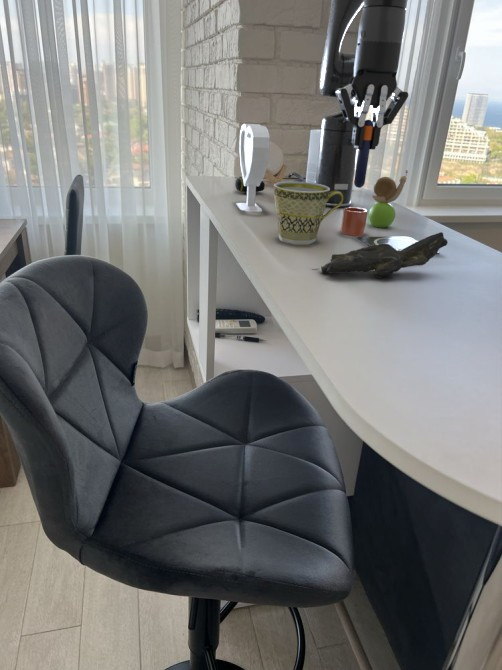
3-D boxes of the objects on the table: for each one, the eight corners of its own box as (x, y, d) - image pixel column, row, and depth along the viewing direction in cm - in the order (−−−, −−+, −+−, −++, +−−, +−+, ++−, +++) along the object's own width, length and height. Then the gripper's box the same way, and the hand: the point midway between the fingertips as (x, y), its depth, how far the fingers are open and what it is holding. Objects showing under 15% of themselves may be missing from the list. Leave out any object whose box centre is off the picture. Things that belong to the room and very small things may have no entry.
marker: (351, 186, 97) (360, 118, 92) (361, 186, 98) (371, 119, 92) (355, 188, 95) (365, 119, 90) (366, 188, 96) (376, 120, 90)
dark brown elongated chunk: (329, 297, 76) (453, 271, 78) (329, 266, 73) (458, 239, 75) (317, 277, 81) (433, 252, 83) (316, 247, 78) (437, 222, 80)
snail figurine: (398, 232, 104) (409, 172, 99) (366, 229, 105) (375, 169, 100) (396, 226, 109) (407, 168, 103) (366, 223, 110) (375, 166, 104)
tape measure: (265, 194, 134) (266, 179, 132) (242, 195, 130) (243, 180, 129) (252, 189, 139) (253, 175, 137) (230, 190, 136) (231, 176, 134)
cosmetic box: (323, 183, 153) (329, 128, 146) (340, 187, 149) (347, 130, 142) (304, 185, 148) (309, 128, 141) (320, 189, 144) (326, 131, 137)
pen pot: (337, 232, 102) (340, 207, 100) (358, 231, 103) (361, 207, 101) (345, 238, 98) (349, 212, 96) (367, 237, 99) (371, 212, 97)
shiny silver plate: (356, 239, 97) (357, 236, 97) (408, 239, 100) (409, 235, 99) (382, 257, 88) (383, 253, 87) (439, 256, 90) (439, 252, 90)
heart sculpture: (234, 201, 123) (237, 121, 115) (254, 201, 124) (258, 122, 116) (246, 216, 110) (250, 127, 102) (268, 216, 111) (274, 128, 103)
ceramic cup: (275, 248, 89) (280, 191, 85) (265, 233, 98) (269, 180, 93) (346, 249, 91) (354, 192, 87) (329, 234, 100) (336, 182, 95)
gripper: (405, 44, 90) (388, 147, 98) (333, 39, 87) (321, 145, 95) (427, 42, 84) (407, 152, 92) (350, 36, 81) (336, 150, 89)
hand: (364, 148), depth 93 cm, fingers closed on marker, 2 cm apart
